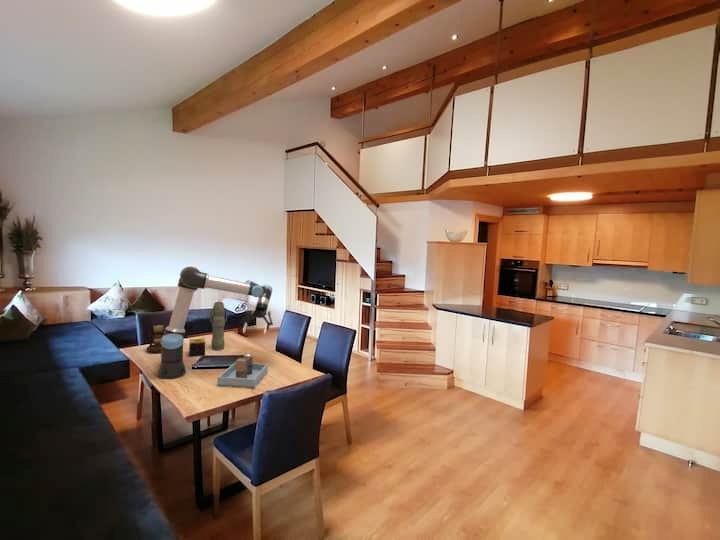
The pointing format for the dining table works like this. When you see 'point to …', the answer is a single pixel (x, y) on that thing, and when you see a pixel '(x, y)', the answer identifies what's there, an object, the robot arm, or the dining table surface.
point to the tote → (252, 380)
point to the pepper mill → (249, 362)
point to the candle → (197, 347)
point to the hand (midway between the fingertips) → (254, 332)
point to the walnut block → (241, 368)
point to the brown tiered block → (156, 338)
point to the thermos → (218, 325)
